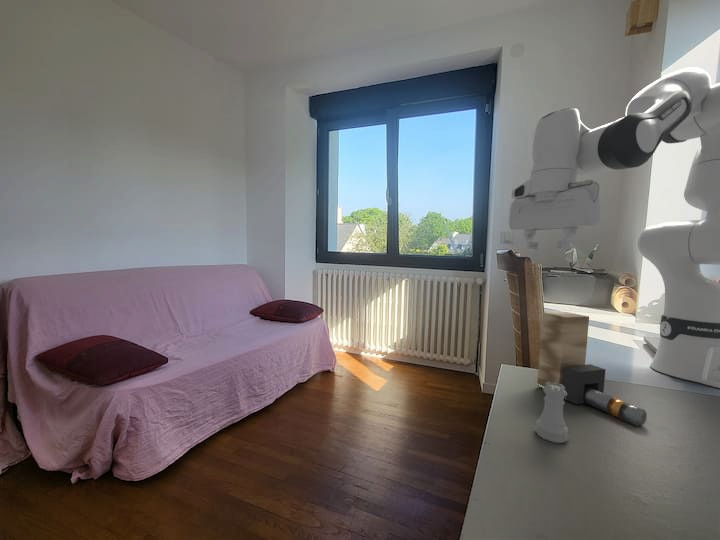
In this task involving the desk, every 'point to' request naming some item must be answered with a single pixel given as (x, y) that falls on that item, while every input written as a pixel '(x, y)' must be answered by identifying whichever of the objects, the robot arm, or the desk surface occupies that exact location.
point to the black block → (582, 381)
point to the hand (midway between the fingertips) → (547, 249)
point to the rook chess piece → (553, 415)
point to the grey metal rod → (615, 406)
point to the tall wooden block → (561, 345)
